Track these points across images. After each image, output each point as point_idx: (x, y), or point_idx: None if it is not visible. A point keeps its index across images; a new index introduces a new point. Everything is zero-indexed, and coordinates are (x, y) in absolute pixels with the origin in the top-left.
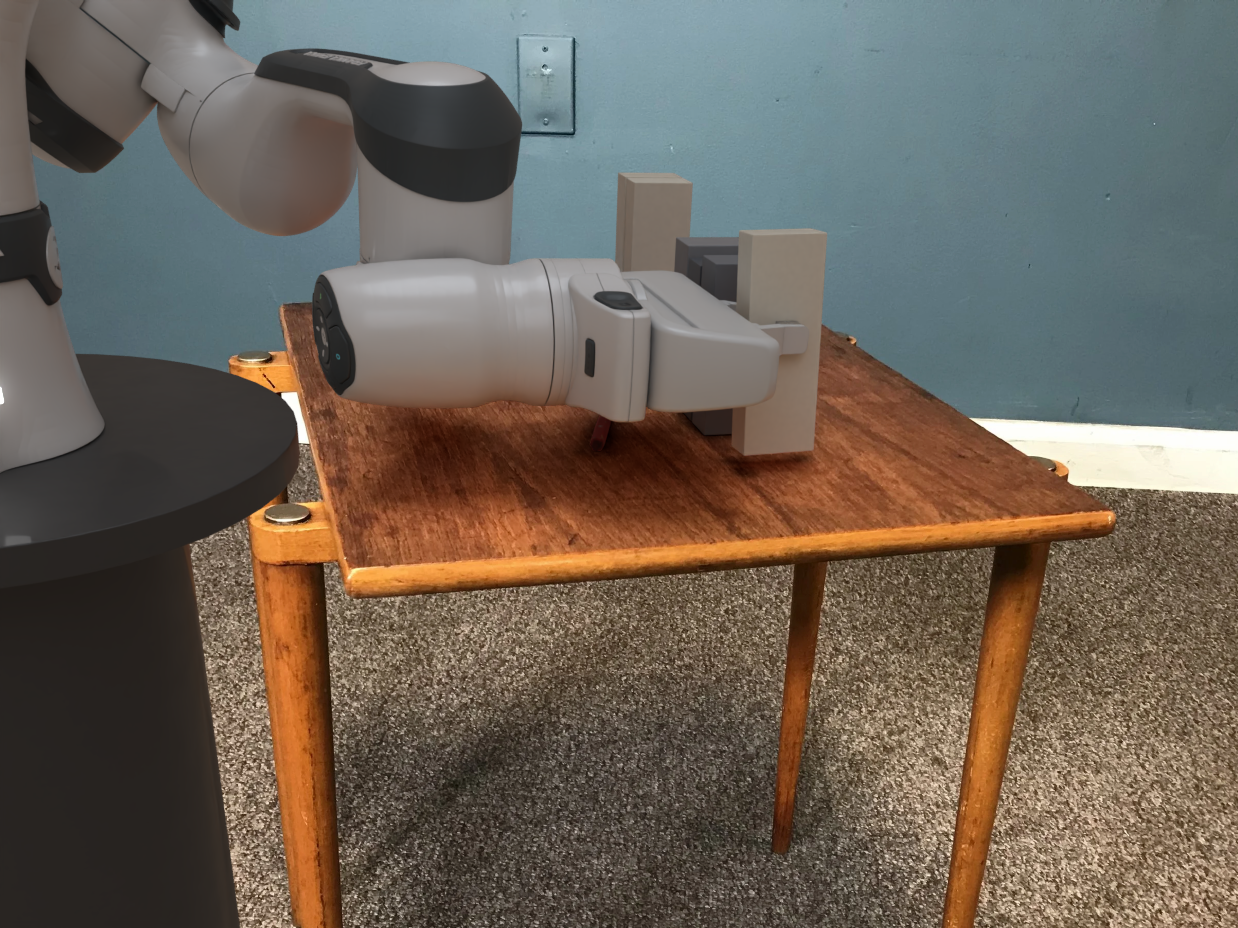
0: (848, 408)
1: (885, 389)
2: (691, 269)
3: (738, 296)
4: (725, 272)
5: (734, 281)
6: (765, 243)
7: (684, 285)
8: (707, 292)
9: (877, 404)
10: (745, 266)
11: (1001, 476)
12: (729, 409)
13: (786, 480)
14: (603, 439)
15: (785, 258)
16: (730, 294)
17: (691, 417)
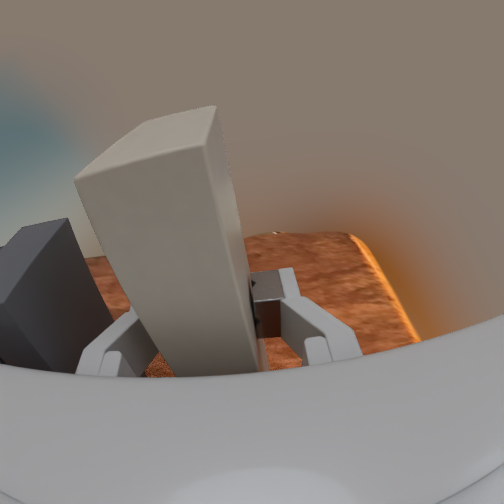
0: (115, 301)
1: (93, 269)
2: None
3: (160, 329)
4: (21, 301)
5: (38, 300)
6: (213, 158)
7: (19, 403)
8: (82, 380)
9: (117, 281)
10: (174, 257)
11: (289, 255)
12: None
13: None
14: None
15: (224, 176)
16: (46, 322)
17: None
